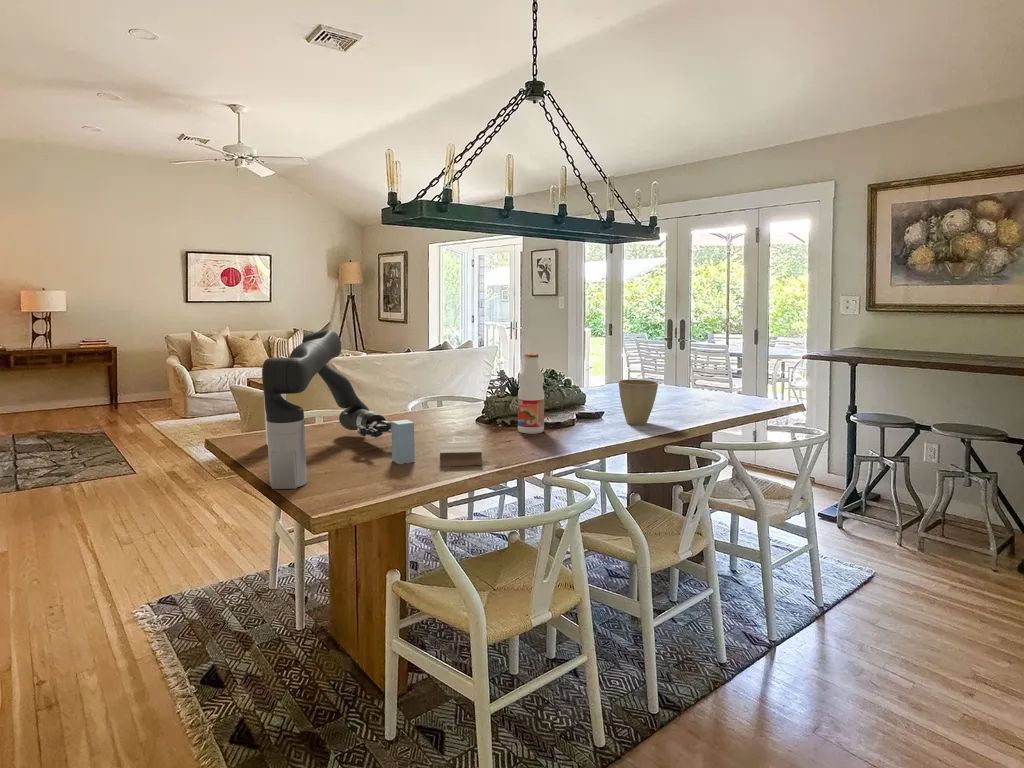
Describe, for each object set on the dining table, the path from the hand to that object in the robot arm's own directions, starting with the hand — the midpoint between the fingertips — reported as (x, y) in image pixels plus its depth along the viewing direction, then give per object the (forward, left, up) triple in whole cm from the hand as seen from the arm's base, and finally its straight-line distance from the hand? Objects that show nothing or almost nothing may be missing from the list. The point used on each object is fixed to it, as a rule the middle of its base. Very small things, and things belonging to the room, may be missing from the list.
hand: (390, 432), depth 203 cm
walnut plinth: (-9, -22, -7) cm, 24 cm away
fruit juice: (+30, -47, -7) cm, 56 cm away
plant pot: (+42, -89, -7) cm, 99 cm away
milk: (+15, +38, -7) cm, 42 cm away
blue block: (-9, -5, -7) cm, 12 cm away
